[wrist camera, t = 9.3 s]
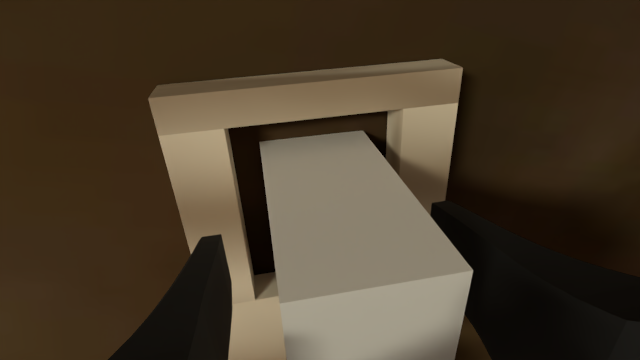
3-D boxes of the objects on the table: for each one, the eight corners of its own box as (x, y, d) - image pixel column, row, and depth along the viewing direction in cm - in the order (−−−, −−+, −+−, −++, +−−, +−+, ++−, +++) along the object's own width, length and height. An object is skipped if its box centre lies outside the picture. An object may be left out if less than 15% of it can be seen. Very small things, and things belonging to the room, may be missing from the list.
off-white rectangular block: (360, 244, 17) (441, 422, 11) (273, 257, 17) (299, 455, 10) (363, 130, 15) (473, 270, 8) (259, 141, 14) (279, 303, 7)
